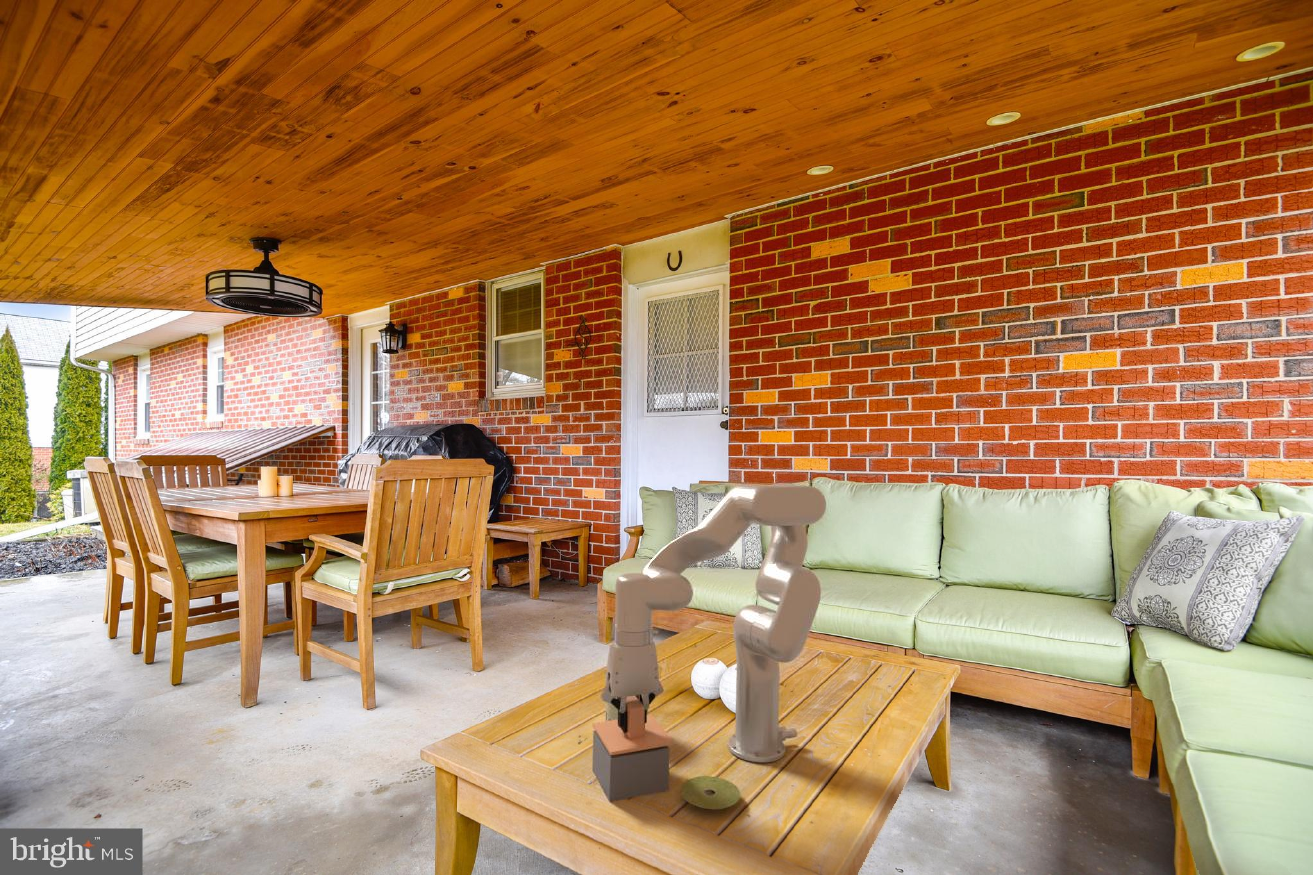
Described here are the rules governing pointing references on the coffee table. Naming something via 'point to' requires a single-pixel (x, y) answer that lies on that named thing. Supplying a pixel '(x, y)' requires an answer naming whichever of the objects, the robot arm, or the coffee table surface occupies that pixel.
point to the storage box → (630, 771)
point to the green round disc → (710, 792)
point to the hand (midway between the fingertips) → (632, 727)
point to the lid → (632, 731)
